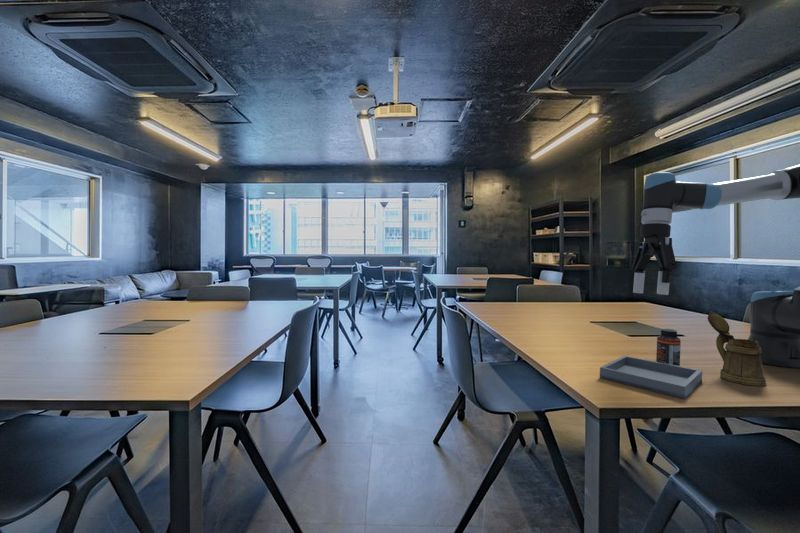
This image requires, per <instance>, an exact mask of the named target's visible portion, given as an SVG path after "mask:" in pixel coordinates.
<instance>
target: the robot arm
mask: <svg viewBox="0 0 800 533" xmlns="http://www.w3.org/2000/svg"><path fill="white" fill-rule="evenodd" d="M642 198H643V199H642V200H643V201H642V209H641V213H640V216H641V218H640V219H641V221H640V222H641V225H640V230H639V236H640V238H643V239H644V242H643V241H638V243H637V249H636V253H635V256H634V259H633V262H632V265H631V267H630V271H632V272H633V273H634V276H633V287H632V288H633V289H632V293H634V294H635V293H636V294H644V289H645V278H646V268H647V267H648V265H649V263H650V260H651V258H653V257H655V259H656V262H657V264H658V266H659V268H658V270H657V271H658V274H657V282H656V295H664V296H665V295H666V296H669V293H670V282H671V273H672V272H673V270H677V268H678V265H677V261H676V257H675V253H674V249H673V238H672V237H670V236H671V228H672V227H671V224H672V221H673V220H672V217H673V214H674V213H678V212H686V211H693V210H698V209H699V210H710V209H711V210H712V209H714V208H715V207H718V206H726V205H733V204H739V203H747V202H753V201H759V200H767V199H770V200H772V201H781V200H790V199H800V164H797V165H794V166H790V167H785V168H783V169H778V170H773V171H771V172H769V173H767V174H766V175H759V176H753V177H747V178H742V179H733V180H730V181H729V180H727V181H721V182H716V183H715V182H714V183H708V182H692V181H691V182H689V181H688V182H687V181H677V178H676V174H675V173H673V172H669V171H662V172H661V171H660V172H654V173H651V174H649V175H647V177H646V178H645V181H644V186H643V196H642ZM749 304H750V323H749V324H750V326H749V327H750V330H749V337H748V339H747V340H754V341H758V342H759V347H760V348H761V351H762V353H761V361H762V365H770V366H777V367H783V368H792V369H793V368H794V369H800V285H799V286H798V287H796V288H793V290H762V291H759V290H758V291H755V292H753V293H752V294H751V300H750V303H749Z"/></svg>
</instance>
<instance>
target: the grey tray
mask: <svg viewBox="0 0 800 533" xmlns="http://www.w3.org/2000/svg"><path fill="white" fill-rule="evenodd" d="M599 379H601V380H606V381H610V382H615V383H619V384H623V385H626V386H631V387H634V388H638V389H642V390H646V391H650V392H655V393H659V394H662V395H667V396H671V397H674V398H679V399H683V400H686V399H687V398H688V397H689V396H690V394H692V393H693V391H694V390H695V389H697V387H699V385H700V384H701V383H702V382H703V369H702V370H701V369H697V368H691V367H685V366H681V365H680V366H676V365H671V364H666V363H661V362H656V361H654V360H650V359H644V358H641V357H640V358H638V357H634V356H630V355H622V356H621V357H619V358H617V359H614V360H612V361H610V362H608V363H607V364H604V365H602V366H600V367H599Z"/></svg>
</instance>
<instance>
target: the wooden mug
mask: <svg viewBox="0 0 800 533" xmlns="http://www.w3.org/2000/svg"><path fill="white" fill-rule="evenodd" d="M707 321H708V323H709V325H710V326H711V328H712V329H714V331H715V332H717V333H718V336H717V337H716V341H715V345H716V349H717V350H718V353H719V355H720V357H721V359H722V361H723V365H722V368H721V369H720V371H719V372H720V375H719V376H720V377H721V379H724V380H725V381H729V382H730V383H731V382H732V383H735V384H741V385H745V386H751V385H752V386H754V387H762V386H766V385H767V381H766V377H765V375H764V368H763V363H762V361H761V353H762V351H761V348H760V347H759V342H758V341H754V340H748V339H747V338H746V339H745V338H744V339H743V338H735V337H734V335H732V334H730V325H729V323H728V322H727V320H726V319H725V317H723V316H721V315H720V314H719V313H717V312H714V311H712V310H710V311H709V313H708V316H707ZM724 346H725V347H724Z"/></svg>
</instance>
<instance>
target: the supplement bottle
mask: <svg viewBox="0 0 800 533" xmlns="http://www.w3.org/2000/svg"><path fill="white" fill-rule="evenodd" d="M681 344H682V342H681V339H680V337H678V331H677V330H676V329H671V328H661V329H660V335H658V336H657V337H656V356H655V357H656V358H655V359H656V361H655V362H661V363H666V364H671V365H676V366H681Z"/></svg>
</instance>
